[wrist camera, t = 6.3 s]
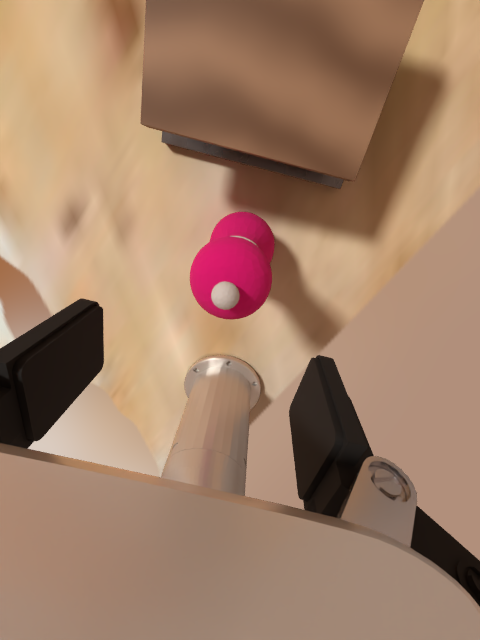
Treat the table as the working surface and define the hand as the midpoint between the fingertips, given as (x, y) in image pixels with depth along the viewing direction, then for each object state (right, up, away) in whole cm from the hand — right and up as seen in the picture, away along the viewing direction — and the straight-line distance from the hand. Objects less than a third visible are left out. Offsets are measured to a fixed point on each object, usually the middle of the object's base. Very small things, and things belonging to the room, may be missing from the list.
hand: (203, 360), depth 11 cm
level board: (+4, +23, +10) cm, 25 cm away
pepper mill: (+2, +12, +23) cm, 26 cm away
